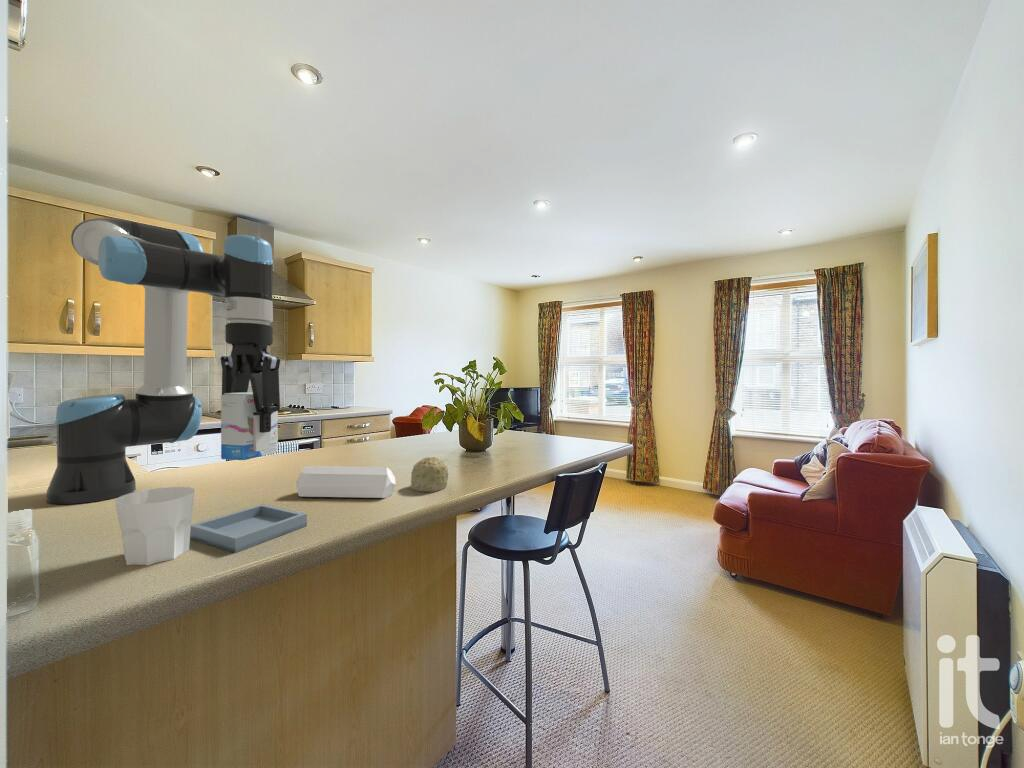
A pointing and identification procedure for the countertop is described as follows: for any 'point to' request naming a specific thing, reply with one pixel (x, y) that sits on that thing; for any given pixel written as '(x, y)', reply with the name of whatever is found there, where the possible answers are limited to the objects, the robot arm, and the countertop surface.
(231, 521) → the tray
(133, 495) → the cup
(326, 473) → the crystal
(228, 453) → the ink box
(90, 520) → the countertop surface
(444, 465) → the decorative object
